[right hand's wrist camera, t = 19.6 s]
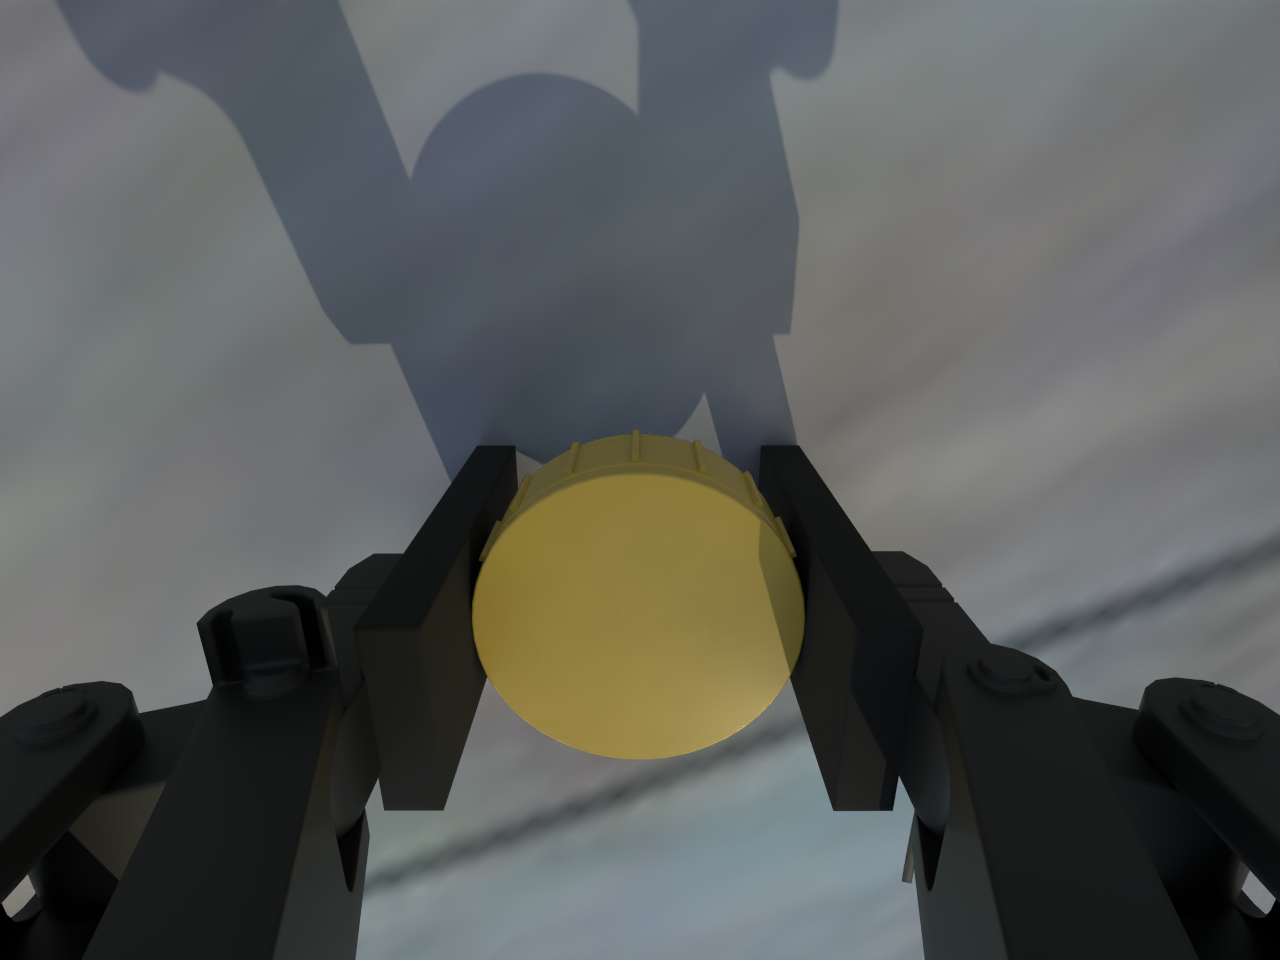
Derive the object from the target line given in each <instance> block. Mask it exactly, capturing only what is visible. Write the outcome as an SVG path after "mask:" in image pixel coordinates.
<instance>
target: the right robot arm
mask: <svg viewBox="0 0 1280 960" xmlns="http://www.w3.org/2000/svg"><path fill="white" fill-rule="evenodd" d="M758 490H759V491H760V493H761V494H762V495H763V497H764V498H765V500H766V502H767V503H768V505H769V507H770V509H771V510H772V512H773V515H774V517H775V518H776V517H779V516H780V518H781V520H782V522H783V525H784V527H785V529H786V531H787V534H788V536H789V538H790V541H791V543H792V545H793V547H794V550H795V552H796V555H797V557H794V558H792V560H793V562H794V565H795V567H796V570H797V572H798V575H799V577H800V580H801V585H802V589H803V593H804V599H805V612H806V620H805V632H804V638H803V643H802V647H801V651H800V654H799V657H798V660H797V662H796V665H795V667H794V670H793V672H792V674H791V675H790V680H791V683H792V686H793V689H794V692H795V695H796V698H797V701H798V704H799V707H800V710H801V713H802V716H803V719H804V722H805V725H806V728H807V731H808V734H809V738H810V741H811V744H812V747H813V750H814V753H815V756H816V759H817V762H818V765H819V768H820V771H821V774H822V777H823V780H824V783H825V786H826V789H827V792H828V796H829V799H830V802H831V805H832V808H833V811H893V806H894V800H895V794H896V789H897V783H898V777H899V776H900V778H901V780H902V783H903V785H904V787H905V789H906V791H907V793H908V796H909V798H910V800H911V802H912V804H913V806H914V809H915V811H914V816H913V821H912V827H911V832H910V837H909V843H908V848H907V854H906V859H905V864H904V870H903V877H902V882H907V883H911V882H912V877H913V872H914V871H915V879H916V888H917V896H918V905H919V913H920V922H921V930H922V939H923V947H924V956H925V960H1280V715H1279V714H1277V713H1276V712H1274V711H1272V710H1271V709H1269V708H1268V707H1266V706H1265V705H1263V704H1262V703H1260V702H1259V701H1257V700H1254V699H1252V698H1250V697H1248V696H1245V695H1243V694H1241V693H1239V692H1237V691H1236V690H1234V689H1232V688H1229V687H1226V686H1223V685H1220V684H1218V685H1216V684H1214V683H1213V682H1208V681H1204V680H1194V679H1185V678H1176V677H1175V678H1167V679H1160V680H1155V681H1154V682H1153V683H1151V684H1150V685H1149V686H1147V687H1146V688H1145V691H1144V694H1143V697H1142V700H1141V703H1140V707H1139V710H1136V709H1131V708H1126V707H1120V706H1115V705H1110V704H1105V703H1100V702H1094V701H1089V700H1084V699H1080V698H1076V697H1072V695H1071V693H1070V690H1069V688H1068V686H1067V685H1066V683H1065V682H1064V681H1063V680H1062V678H1061V677H1060V676H1059V675H1058V673H1057V672H1056V671H1055V670H1053V669H1052V668H1050V667H1049V666H1047V665H1046V664H1045V663H1043V662H1042V661H1040V660H1039V659H1037V658H1035V657H1032V656H1030V655H1028V654H1025V653H1023V652H1021V651H1018V650H1016V649H1012V648H1008V647H1004V646H999V645H995V644H990V642H989V641H988V640H987V639H986V637H985V636H984V635H983V634H982V633H981V631H980V630H979V629H978V628H977V626H976V625H975V624H974V623H973V622H972V620H971V619H970V618H969V617H968V615H967V614H966V613H965V612H964V610H963V609H962V608H961V607H960V606H959V604H958V603H954V598H953V597H952V596H951V594H950V593H949V592H948V591H947V590H946V588H942V583H941V582H940V581H939V580H938V578H937V577H936V576H935V575H934V574H933V572H932V571H931V570H930V569H929V567H928V566H926V565H925V564H923V563H921V562H920V561H918V560H916V559H915V558H913V557H911V556H910V555H908V554H906V553H905V552H903V551H871V550H870V549H869V547H868V546H867V544H866V543H865V541H864V540H863V538H862V537H861V536H860V534H859V533H858V531H857V530H856V528H855V527H854V525H853V524H852V522H851V521H850V519H849V518H848V517H847V515H846V514H845V512H844V511H843V509H842V508H841V506H840V505H839V503H838V502H837V501H836V499H835V498H834V496H833V495H832V493H831V492H830V490H829V489H828V487H827V486H826V484H825V483H824V482H823V480H822V479H821V477H820V476H819V474H818V473H817V471H816V470H815V468H814V467H813V465H812V464H811V463H810V461H809V460H808V458H807V457H806V455H805V454H804V452H803V451H802V449H801V448H800V446H761V457H760V473H759V488H758ZM517 491H518V481H517V466H516V452H515V446H477V447H476V448H475V450H474V451H473V453H472V454H471V456H470V457H469V459H468V460H467V462H466V463H465V465H464V466H463V467H462V469H461V470H460V472H459V473H458V475H457V476H456V478H455V479H454V481H453V482H452V484H451V485H450V486H449V488H448V489H447V491H446V492H445V494H444V495H443V497H442V498H441V500H440V501H439V503H438V504H437V505H436V507H435V508H434V510H433V511H432V513H431V514H430V516H429V517H428V519H427V520H426V522H425V523H424V524H423V526H422V527H421V529H420V530H419V532H418V533H417V535H416V536H415V538H414V539H413V541H412V542H411V544H410V545H409V546H408V548H407V549H406V551H405V552H404V554H373V555H371V556H369V557H368V558H366V559H364V560H363V561H361V562H360V563H358V564H356V565H355V566H353V567H351V568H350V569H349V570H348V571H347V572H346V573H345V575H344V576H343V577H342V578H341V580H340V581H339V582H338V583H337V585H336V586H335V590H332V591H331V592H330V593H329V594H328V596H327V597H326V596H324V595H323V594H322V593H320V592H319V591H318V590H316V589H313V588H309V587H304V586H299V585H291V586H273V587H268V588H263V589H258V590H253V591H249V592H247V593H244V594H241V595H238V596H236V597H233V598H230V599H228V600H226V601H224V602H223V603H221V604H219V605H217V606H216V607H214V608H212V609H211V610H209V611H208V612H207V613H206V614H205V615H204V616H203V617H202V618H201V619H200V620H199V621H198V622H197V627H198V631H199V635H200V638H201V642H202V646H203V650H204V653H205V657H206V661H207V664H208V668H209V672H210V676H211V679H212V683H213V688H212V690H211V692H210V694H209V696H208V698H207V699H206V700H202V701H198V702H194V703H189V704H184V705H179V706H174V707H169V708H164V709H159V710H154V711H149V712H144V713H139V712H138V709H137V706H136V703H135V700H134V697H133V694H132V691H130V690H129V689H128V688H126V687H125V686H124V685H122V684H120V683H112V682H105V681H98V682H90V683H81V684H73V685H68V686H63V688H61V689H60V688H57V689H54V690H51V691H47V692H45V693H43V694H41V695H40V696H38V697H36V698H34V699H32V700H29V701H27V702H25V703H23V704H21V705H18V706H17V707H15V708H14V709H12V710H11V711H9V712H8V713H6V714H5V715H3V716H2V717H0V960H355V958H356V949H357V941H358V932H359V924H360V915H361V907H362V898H363V890H364V881H365V873H366V864H367V856H368V847H369V839H370V835H369V828H368V821H367V816H366V811H365V805H366V803H367V801H368V799H369V797H370V795H371V792H372V790H373V788H374V786H375V784H376V782H377V779H378V777H379V783H380V788H381V794H382V800H383V806H384V810H444V807H445V804H446V801H447V798H448V795H449V792H450V789H451V786H452V783H453V780H454V777H455V774H456V771H457V768H458V765H459V761H460V758H461V755H462V752H463V749H464V746H465V743H466V740H467V737H468V734H469V731H470V728H471V725H472V722H473V719H474V716H475V712H476V709H477V706H478V703H479V700H480V697H481V694H482V691H483V688H484V685H485V682H486V679H487V675H486V673H485V670H484V668H483V666H482V663H481V661H480V659H479V656H478V653H477V649H476V645H475V642H474V637H473V629H472V621H471V618H472V599H473V593H474V588H475V583H476V580H477V577H478V574H479V571H480V568H481V566H482V563H483V562H481V561H479V558H480V555H481V553H482V551H483V548H484V546H485V544H486V542H487V540H488V538H489V536H490V534H491V531H492V529H493V527H494V525H495V523H496V521H497V520H498V521H502V519H503V517H504V515H505V513H506V511H507V509H508V507H509V505H510V503H511V501H512V500H513V498H514V497H515V495H516V493H517ZM1249 871H1251V872H1252V873H1253V874H1254V875H1255V876H1256V877H1257V878H1258V879H1259V881H1260V882H1261V883H1262V884H1263V885H1264V886H1265V887H1266V888H1267V889H1268V890H1269V892H1270V893H1271V894H1272V895H1273V896H1274V897H1275V898H1276V900H1275V902H1274V904H1273V906H1272V909H1271V911H1270V912H1269V913H1268V914H1265V913H1264V912H1263V911H1261V910H1260V909H1259V908H1258V907H1257V906H1256V905H1255V904H1254V903H1253V902H1252V901H1251V900H1250V899H1249V897H1248V896H1247V895H1246V894H1245V893H1244V892H1243V891H1242V887H1243V885H1244V882H1245V880H1246V878H1247V875H1248V873H1249ZM27 874H28V876H29V878H30V881H31V883H32V885H33V888H34V890H35V892H36V894H35V895H34V896H33V897H32V898H31V899H30V900H29V902H28V903H27V904H26V905H25V906H24V907H23V908H22V909H21V910H20V911H19V912H17V913H16V914H15V915H14V916H13V917H11V918H10V917H9V916H8V915H7V914H6V912H5V910H4V907H3V905H2V902H3V901H4V900H5V899H6V898H7V897H8V895H9V894H10V893H11V892H12V891H13V890H14V889H15V888H16V887H17V885H18V884H19V883H20V882H21V881H22V880H23V879H24V878H25V877H26V875H27Z"/></svg>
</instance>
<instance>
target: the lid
mask: <svg viewBox="0 0 1280 960" xmlns="http://www.w3.org/2000/svg"><path fill="white" fill-rule="evenodd" d="M794 557H797V555H796V552H795V550H794V547H793V545H792V543H791V541H790V538H789V536H788V534H787V531H786V529H785V527H784V525H783V522H782V520H781V518H780V516H779V517H776V518H775V517H774V515H773V512H772V510H771V509H770V507H769V505H768V503H767V502H766V500H765V498H764V497H763V495H762V494H761V493H760V491H759V490H758V489H757V488H756V485H755V483H754V480H753V478H752V475H751V474H750V473H749V472H748V471H746V472H744V473H742V472H741V471H740V470H739V469H738V468H737V467H735V466H734V465H732V464H731V463H730V462H728V461H727V460H725V459H724V458H723V457H721V456H719V455H717V454H715V453H713V452H712V451H710V450H708V449H706V448H704V447H702V444H701V441H698V440H694V443H691V442H688V441H685V440H680V439H676V438H672V437H668V436H660V435H651V434H640V430H633V434H625V435H618V436H611V437H605V438H601V439H597V440H594V441H590V442H586V443H584V444H582V445H580V444H579V442H578V441H577V442H574V443H572V445H571V448H570V450H567V451H566V452H564V453H562V454H561V455H559V456H557V457H555V458H554V459H552V460H550V461H549V462H548V463H547V464H545V465H544V466H543V467H541V468H540V469H539V470H538V471H536V472H535V473H534V474H533V475H532V476H530V475H529V474H526V475H525V476H524V478H523V480H522V482H521V484H520V487H519V489H518V491H517V493H516V495H515V497H514V498H513V500H512V501H511V503H510V505H509V507H508V509H507V511H506V513H505V515H504V517H503V519H502V521H498V520H497V521H496V523H495V525H494V527H493V529H492V531H491V534H490V536H489V538H488V540H487V542H486V544H485V546H484V548H483V551H482V553H481V555H480V558H479V561H481V562H483V563H482V566H481V568H480V571H479V574H478V577H477V580H476V583H475V588H474V593H473V599H472V618H471V621H472V629H473V637H474V642H475V645H476V649H477V653H478V656H479V659H480V661H481V663H482V666H483V668H484V670H485V673H486V675H487V676H488V678H489V680H490V681H491V683H492V685H493V686H494V688H495V689H496V691H497V692H498V693H499V695H500V696H501V697H502V698H503V700H504V701H505V702H506V703H507V704H508V706H509V707H510V708H512V709H513V710H514V711H515V712H516V713H517V714H518V715H519V716H520V717H521V718H522V719H523V720H525V721H526V722H527V723H529V724H530V725H532V726H533V727H534V728H536V729H537V730H538V731H540V732H542V733H544V734H545V735H547V736H549V737H551V738H552V739H554V740H556V741H558V742H561V743H563V744H565V745H568V746H570V747H572V748H575V749H578V750H582V751H585V752H588V753H591V754H596V755H601V756H606V757H611V758H622V759H657V758H666V757H673V756H677V755H682V754H686V753H691V752H694V751H697V750H700V749H703V748H706V747H709V746H711V745H713V744H715V743H717V742H720V741H722V740H724V739H726V738H728V737H730V736H731V735H733V734H734V733H736V732H738V731H739V730H741V729H743V728H744V727H745V726H747V725H748V724H749V723H751V722H752V721H753V720H754V719H756V718H757V717H758V716H759V715H760V714H761V713H762V712H763V711H764V710H765V709H766V708H767V707H768V706H769V705H770V704H771V703H772V702H773V701H774V699H775V698H776V697H777V696H778V694H779V693H780V692H781V690H782V689H783V688H784V686H785V684H786V682H787V681H788V679H789V677H790V675H791V674H792V672H793V670H794V667H795V665H796V662H797V660H798V657H799V654H800V651H801V647H802V643H803V638H804V632H805V620H806V612H805V599H804V593H803V589H802V585H801V580H800V577H799V575H798V572H797V570H796V567H795V565H794V562H793V560H792V558H794Z"/></svg>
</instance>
